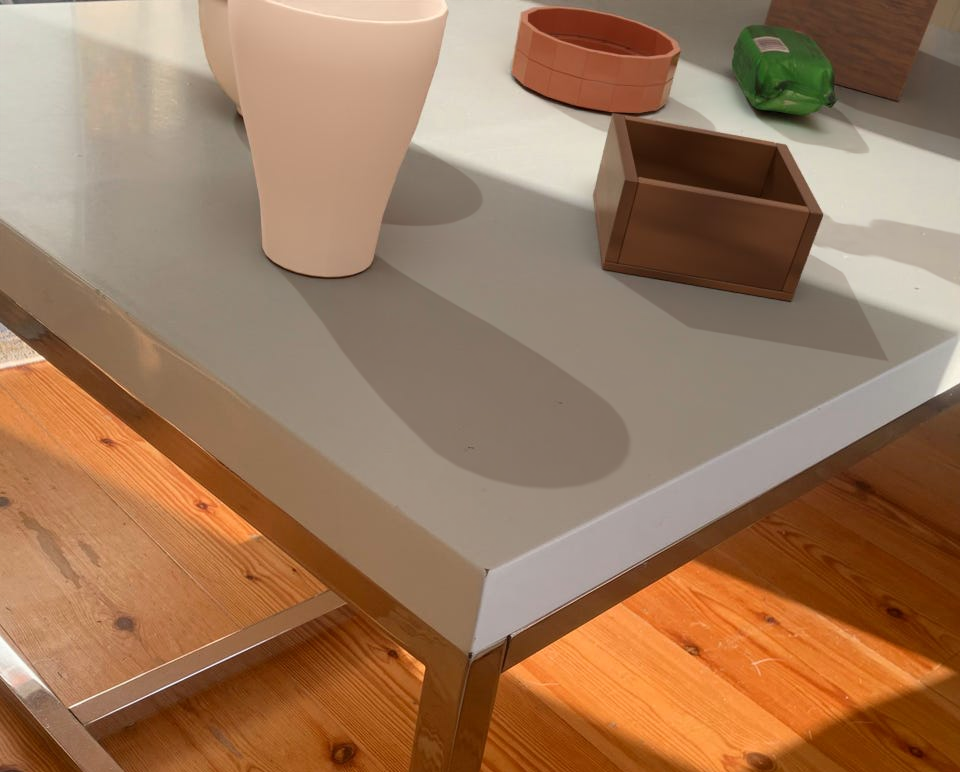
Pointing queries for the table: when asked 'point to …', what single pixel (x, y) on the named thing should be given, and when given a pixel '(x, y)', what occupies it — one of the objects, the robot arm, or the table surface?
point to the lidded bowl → (219, 45)
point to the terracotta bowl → (594, 59)
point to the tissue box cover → (861, 37)
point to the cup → (330, 117)
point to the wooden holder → (703, 208)
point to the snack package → (783, 70)
